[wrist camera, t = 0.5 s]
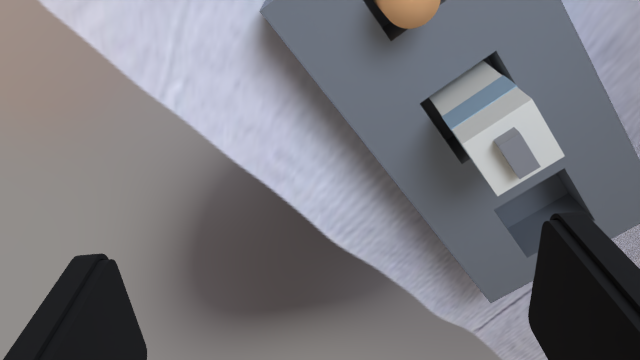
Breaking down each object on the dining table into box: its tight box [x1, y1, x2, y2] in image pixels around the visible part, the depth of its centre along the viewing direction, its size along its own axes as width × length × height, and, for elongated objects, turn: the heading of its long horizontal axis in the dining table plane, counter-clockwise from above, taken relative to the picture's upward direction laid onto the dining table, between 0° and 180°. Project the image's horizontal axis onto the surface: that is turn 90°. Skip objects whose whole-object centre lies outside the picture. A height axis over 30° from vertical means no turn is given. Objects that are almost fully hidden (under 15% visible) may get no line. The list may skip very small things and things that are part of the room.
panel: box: [260, 0, 640, 303], centre depth 33 cm, size 14×28×4 cm, turn 37°
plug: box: [429, 60, 565, 196], centre depth 29 cm, size 4×4×11 cm
